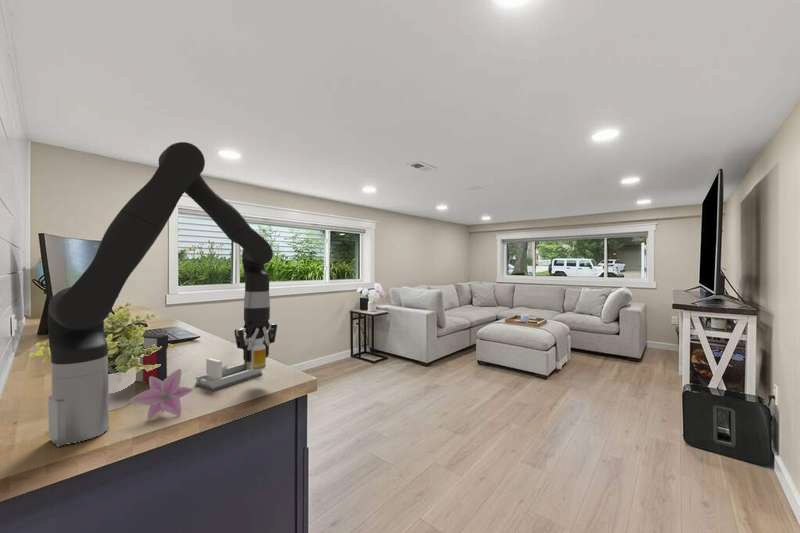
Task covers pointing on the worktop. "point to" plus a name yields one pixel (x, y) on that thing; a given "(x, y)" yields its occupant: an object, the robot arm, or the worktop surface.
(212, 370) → the spring paddle
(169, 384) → the lily
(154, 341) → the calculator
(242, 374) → the pusher lane
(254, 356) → the supplement bottle
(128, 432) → the worktop surface
